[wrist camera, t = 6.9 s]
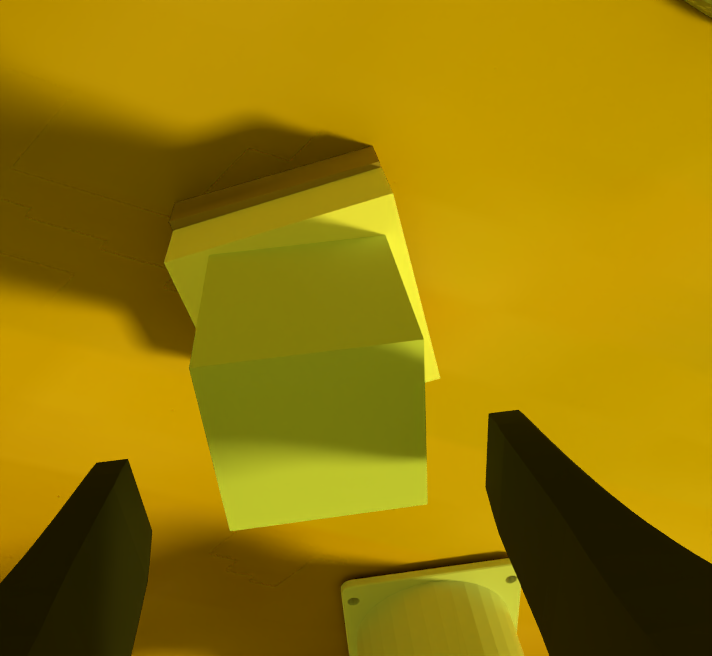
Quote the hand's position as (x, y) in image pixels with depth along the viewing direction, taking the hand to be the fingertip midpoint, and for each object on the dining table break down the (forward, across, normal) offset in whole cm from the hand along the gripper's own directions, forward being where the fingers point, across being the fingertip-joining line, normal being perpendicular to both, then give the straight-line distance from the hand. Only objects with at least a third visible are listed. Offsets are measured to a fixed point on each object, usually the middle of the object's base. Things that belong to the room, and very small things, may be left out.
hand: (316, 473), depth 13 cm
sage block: (+6, 0, 0) cm, 6 cm away
